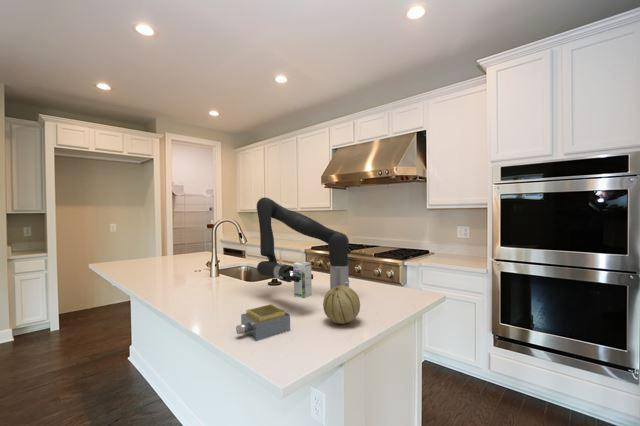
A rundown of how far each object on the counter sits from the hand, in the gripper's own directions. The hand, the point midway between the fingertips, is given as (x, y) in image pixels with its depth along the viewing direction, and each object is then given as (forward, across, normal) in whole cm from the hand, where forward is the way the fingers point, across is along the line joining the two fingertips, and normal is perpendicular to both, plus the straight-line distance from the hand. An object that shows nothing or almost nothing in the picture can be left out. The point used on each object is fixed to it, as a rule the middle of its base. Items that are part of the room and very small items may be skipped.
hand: (305, 278), depth 130 cm
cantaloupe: (+16, +6, +16) cm, 23 cm away
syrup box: (-2, 0, +8) cm, 9 cm away
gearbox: (+3, -23, +16) cm, 28 cm away
